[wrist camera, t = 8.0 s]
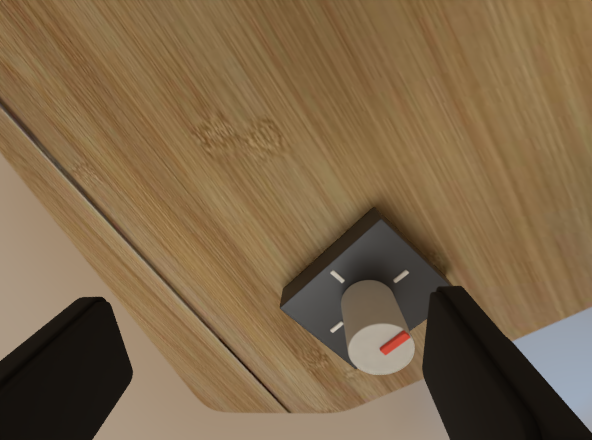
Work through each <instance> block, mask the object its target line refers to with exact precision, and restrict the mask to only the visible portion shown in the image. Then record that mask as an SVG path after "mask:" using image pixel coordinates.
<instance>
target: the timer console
mask: <svg viewBox="0 0 592 440" xmlns="http://www.w3.org/2000/svg"><path fill="white" fill-rule="evenodd" d="M364 280H374V281H378V282H381V283H383V284H385V285H386V286H387V287H389V288H390V290H391V291H392V293H393V295H394V297H395V299H396V302H397V304H398V306H399V308H400V311H401V313H402V315H403V317H404V320H405V322H406V324H407V326H408V329H409V331H410V330H412V329H413V328H415V327H416V326H417V325H419V324H420V323H422V322H423V321H424V320H426V319H427V317H428V308H429V298H430V294H431V292H436V289H437V288H438V287H439V286H453V285H452V284H451V283H450V282H449V280H448V279H447V278H446V277H445V276H444V275H443V274H442V273H441V272H440V271H439V270H438V269H437V268H436V267H435V266H434V265H433V264H432V263H431V262H430V261H429V260H428V259H427V258H426V257H425V256H424V255H423V254H422V253H421V252H420V251H419V250H418V249H417V248H416V247H415V246H414V245H413V244H412V243H411V242H410V241H409V240H408V239H407V238H405V237H404V236H403V235H402V234H401V233H400V232H399V231H398V230H397V229H396V228H395V227H394V226H393V225H392V224H391V223H390V222H389V221H388V220H387V219H386V218H385V217H384V216H383V215H382V214H381V213H380V212H379V211H378V210H377V209H376V208H375V207H373V208H372V209H371V210H370V211H369V212H368V213H367V214H366V215H365V216H363V217H362V218H361V219H360V220H359V221H358V222H357V223H356V224H355V225H353V226H352V227H351V228H350V229H349V230H348V231H347V232H346V233H345V234H344V235H342V236H341V237H340V238H339V239H338V240H337V241H336V242H335V243H334V244H333V245H331V246H330V247H329V248H328V249H327V250H326V251H325V252H324V253H323V254H322V255H320V256H319V257H318V258H317V259H316V260H315V261H314V262H313V263H312V264H310V265H309V266H308V267H307V268H306V269H305V270H304V271H303V272H302V273H301V274H299V275H298V276H297V277H296V278H295V279H294V280H293V281H292V282H291V283H290V284H288V285H287V286H286V287H285V288H284V289H283V291H282V297H281V303H280V309H281V310H282V311H284V312H285V313H286V314H287V315H289V316H290V317H291V318H292V319H294V320H295V321H296V322H297V323H299V324H300V325H301V326H302V327H304V328H305V329H306V330H307V331H309V332H310V333H311V334H312V335H314V336H315V337H316V338H317V339H319V340H320V341H321V342H322V343H324V344H325V345H326V346H327V347H329V348H330V349H331V350H332V351H334V352H335V353H336V354H337V355H339V356H340V357H341V358H342V359H344V360H345V361H346V362H347V363H349V364H350V365H351V366H352V367H354V368H355V369H357V367H356V366H355V365H354V364H353V363H352V361H351V360H350V358H349V355H348V349H347V342H346V335H345V329H344V322H343V315H342V308H341V299H342V296H343V294H344V292H345V291H346V290H347V289H348V288H349V287H350V286H351V285H353V284H354V283H357V282H359V281H364Z"/></svg>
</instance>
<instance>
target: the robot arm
mask: <svg viewBox="0 0 592 440" xmlns="http://www.w3.org/2000/svg"><path fill="white" fill-rule="evenodd" d="M422 369H423V375H424V379H425V381H426V384H427V386H428V388H429V391H430V393H431V396H432V398H433V400H434V403H435V405H436V407H437V410H438V412H439V414H440V417H441V419H442V422H443V424H444V426H445V429H446V431H447V433H448V436H449V438H450V440H592V433H591V432H590V431H589V429H588V428H587V427H586V426H585V425H584V424H583V422H582V421H581V420H580V419H579V418H578V417H577V416H576V414H575V413H574V412H573V411H572V410H571V409H570V408H569V406H568V405H567V404H566V403H565V402H564V401H563V400H562V398H561V397H560V396H559V395H558V394H557V393H556V392H555V391H554V389H553V388H552V387H551V386H550V385H549V384H548V382H547V381H546V380H545V379H544V378H543V377H542V376H541V374H540V373H539V372H538V371H537V370H536V369H535V368H534V366H533V365H532V364H531V363H530V362H529V361H528V359H527V358H526V357H525V356H524V355H523V354H522V353H521V352H520V350H519V349H518V348H517V347H516V346H515V345H514V343H513V342H512V341H510V340H509V339H508V338H507V337H505V335H504V334H503V333H502V332H501V331H500V330H499V328H498V327H497V326H496V325H495V324H494V323H493V322H492V320H491V319H490V318H489V317H488V316H487V315H486V313H485V312H484V311H483V310H482V309H481V308H480V307H479V305H478V304H477V303H476V302H475V301H474V300H473V298H472V297H471V296H470V295H469V294H468V293H467V292H466V290H465V289H464V288H463V287H462V286H439V287H438V288H437V289H436V292H431V294H430V298H429V308H428V317H427V327H426V336H425V346H424V355H423V365H422ZM132 375H133V370H132V366H131V363H130V360H129V357H128V354H127V352H126V349H125V345H124V342H123V340H122V336H121V333H120V330H119V327H118V325H117V322H116V319H115V316H114V313H113V310H112V307H111V305H110V303H109V302H107V301H106V300H105V299H104V298H103V297H82V298H79V299H77V300H76V301H74V302H73V303H72V304H71V305H69V306H68V307H67V308H66V309H64V310H63V311H62V312H61V313H59V314H58V315H57V316H56V317H54V318H53V319H52V320H51V321H50V322H49V323H47V324H46V325H45V326H43V327H42V328H41V329H40V330H38V331H37V332H36V333H35V334H33V335H32V336H31V337H30V338H28V339H27V340H26V341H25V342H23V343H22V344H21V345H20V346H18V347H17V348H16V349H15V350H14V351H12V352H11V353H10V354H8V355H7V356H6V357H5V358H3V359H2V360H1V361H0V440H92V439H93V438H94V436H95V435H96V433H97V432H98V430H99V429H100V427H101V426H102V424H103V423H104V421H105V420H106V418H107V417H108V415H109V414H110V412H111V411H112V409H113V408H114V406H115V405H116V403H117V402H118V400H119V398H120V397H121V396H122V394H123V393H124V391H125V390H126V388H127V386H128V385H129V384H130V382H131V379H132Z"/></svg>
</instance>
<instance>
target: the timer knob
mask: <svg viewBox="0 0 592 440" xmlns="http://www.w3.org/2000/svg"><path fill="white" fill-rule="evenodd" d="M341 308H342V315H343V322H344V329H345V335H346V342H347V349H348V355H349V358H350V360H351V361H352V363H353V364H354V365H355V366H356V367H357V368H358V369H360V370H362V371H364V372H366V373H369V374H374V375H386V374H391V373H394V372H397V371H399V370H401V369H402V368H404V367H405V366H406V365H407V364H408V363H409V362H410V361H411V359H412V357H413V355H414V351H415V344H414V340H413V338H412V335H411V333H410V331H409V329H408V326H407V324H406V322H405V320H404V317H403V315H402V313H401V311H400V308H399V306H398V304H397V302H396V299H395V297H394V295H393V293H392V291H391V290H390V288H389V287H387V286H386V285H385V284H383V283H381V282H378V281H374V280H364V281H359V282H357V283H354V284H353V285H351V286H350V287H349V288H348V289H347V290H346V291H345V292H344V294H343V296H342V299H341Z"/></svg>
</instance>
